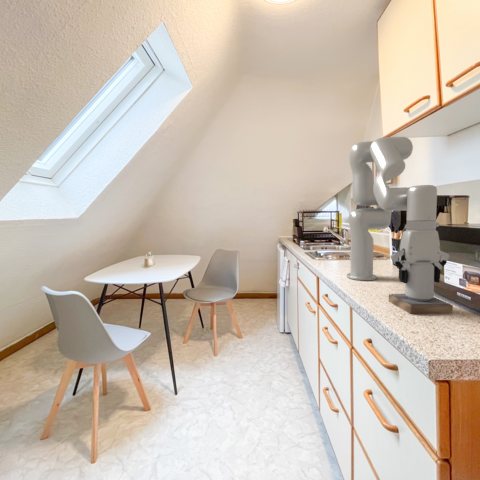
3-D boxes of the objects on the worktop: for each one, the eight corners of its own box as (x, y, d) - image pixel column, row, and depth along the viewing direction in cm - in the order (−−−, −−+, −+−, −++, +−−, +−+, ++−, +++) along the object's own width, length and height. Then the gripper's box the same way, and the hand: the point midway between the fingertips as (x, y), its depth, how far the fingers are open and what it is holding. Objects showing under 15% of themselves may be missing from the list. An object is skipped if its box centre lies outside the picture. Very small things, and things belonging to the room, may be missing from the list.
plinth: (388, 303, 92) (388, 293, 91) (424, 302, 92) (425, 292, 91) (410, 316, 80) (410, 305, 80) (452, 315, 80) (452, 304, 79)
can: (438, 302, 81) (439, 262, 80) (410, 301, 83) (410, 262, 81) (427, 294, 88) (427, 257, 87) (401, 293, 90) (401, 257, 89)
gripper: (440, 225, 87) (438, 278, 89) (385, 226, 87) (384, 279, 89) (459, 226, 80) (456, 284, 81) (399, 227, 80) (397, 285, 81)
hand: (419, 281), depth 85 cm, fingers open, 9 cm apart
